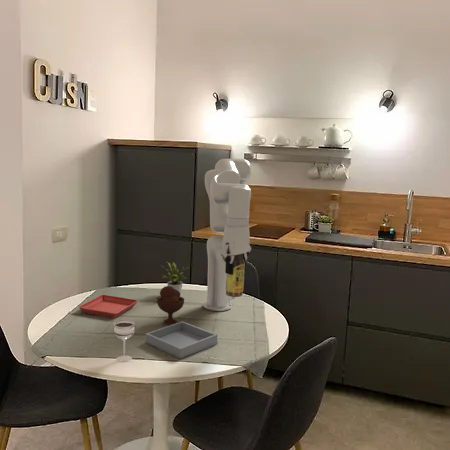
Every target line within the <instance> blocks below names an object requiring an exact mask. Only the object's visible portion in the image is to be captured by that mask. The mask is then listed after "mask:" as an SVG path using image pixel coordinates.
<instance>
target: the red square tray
mask: <svg viewBox="0 0 450 450" xmlns="http://www.w3.org/2000/svg"><path fill="white" fill-rule="evenodd" d="M138 302H139V300H138V299H134V298H126V297H121V296H115V295H107V294H101V295H99V296H96V297H95V298H93V299H91V300H89V301H87V302H85V303H84V304H83V303H82V304H81V305H79V306H78V308H79V310H81V312H83V313H85V314H89V315H96V316H101V317H106V318H112V319H116V318H118V317H119V316H121V315H122V314H124V313H126V312H127V311H129V310H131V309H133V307H134V306H135V305H136V304H137V303H138Z"/></svg>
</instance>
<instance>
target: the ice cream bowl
mask: <svg viewBox="0 0 450 450" xmlns="http://www.w3.org/2000/svg"><path fill="white" fill-rule="evenodd" d="M159 295H160V296H159V297H157V298H156V303H157V306H158V308H159V309H160V310H161V311H162V312H164V313H166V314H167V315H168V316H167V318H165V319H164V320H163V323H162V324H165V325H166V326H170V325H173V324H176V323H178V321H177V320H176V319H175V318H173V315H174V314H175V313H176V312H178V311H180V310H181V309H183V306H184V304H185V298H184V297H182V296H181V294H180V292H179V291H177V290H176V289H174V288H173V287H171V286H168V285H166V286H164V287H162V288H161V290H160V291H159Z"/></svg>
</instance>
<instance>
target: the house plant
mask: <svg viewBox="0 0 450 450" xmlns="http://www.w3.org/2000/svg"><path fill="white" fill-rule="evenodd" d="M167 264H168V266H169V268H170V269H168V268H164V267H165V266H163V265H159V266H162V268H164V269H165V270H166V271H167V272H168V275H167V276H166V275H163V274H161V273H160V275H161V276H162V279H164V278H166V279H169V281H168V282H167V283H166V284H167V285H166V286H171V287H173V288H174V289H176V290H177V291H179V292H180V295H182V294H181V293H182V290H183V283H184V282H182V281H181V280H184V279H185V275H182V274H183V271H184V268H185V266H183V267H182V269H181V270H180V272H179V269H178V264H176V263H175V262H172V264H171V263H170V262H167ZM188 268H189V266H188V267H187V269H188ZM186 279H188V278H187V277H186Z"/></svg>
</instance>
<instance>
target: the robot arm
mask: <svg viewBox="0 0 450 450" xmlns="http://www.w3.org/2000/svg"><path fill="white" fill-rule="evenodd" d="M251 174H252V167H251V163H250V162H249V161H248V160H247V159H246V158H245V159H244V158H221V159H218V161H217V162H216V163H215V166H214V169H210V170H208V171H206V172H205V175H204V187H205V190H206V193H207V195H208V200H209V227H210V229H211V231H212V232H214V233H219V234H220V233H221V234H223V235H213V236H211V237H209V238H208V239H207V241H206V253H207V283H206V284H207V287H206V288H207V289H206V291H207V292H206V300H205V301H204V302H203V303H202V304H203V305H202V306H203V308H204V309H206V310H208V311H214V312H224V311H229V310H231V308H233V307H232V306H233V304H232V303H231V300H234V299H236V297H230V296H227V295H226V275H227V274H230V275H233V269H234V264H233V259H234V256H235V255H239V254H242V255H243V259H244V262H245V268H244V272H246V270H247V269H246V268H247V260H248V256H249V254H250V252H251V251H252V246H251V245H250V242H251V241H250V239H251V236H250V234H251V233H250V226H249V225H250V222H249V221H250V207H251V206H250V204H251V199H252V198H251V197H252V190H251V188H250V186H249V185H248V184H247V183H248V182H249V180H250V177H251V176H252V175H251ZM229 256H231V258H229Z"/></svg>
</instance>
